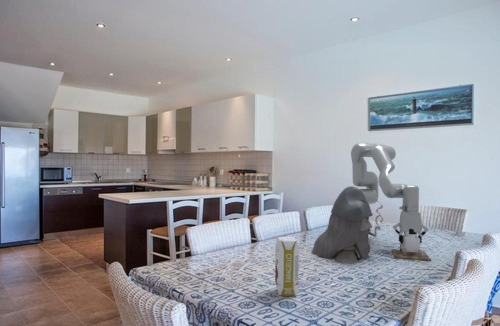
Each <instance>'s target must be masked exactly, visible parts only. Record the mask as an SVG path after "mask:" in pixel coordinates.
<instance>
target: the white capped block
mask: <svg viewBox="0 0 500 326" xmlns="http://www.w3.org/2000/svg"><path fill="white" fill-rule="evenodd" d="M400 244H401V249H402V250H403V248H405V249H406V252H418V250H421V243H420V238H418V233H417V232H414V229H409V231H408V232H403V234H402V243H400Z"/></svg>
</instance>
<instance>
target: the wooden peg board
mask: <svg viewBox="0 0 500 326" xmlns="http://www.w3.org/2000/svg"><path fill="white" fill-rule="evenodd" d="M391 253H392V254H393V257H394V258H395V259H398V260H399V259H401V260H411V261H412V260H413V261H421V262H424V261H425V262H432V258H431V257H430V256H429V255H428V254H427V252H425V251H423V250H422V249H420V250H418V252H406V249H405V248H403V250H402V249H401V243H399V249H397V248H391Z"/></svg>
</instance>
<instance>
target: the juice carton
mask: <svg viewBox="0 0 500 326" xmlns="http://www.w3.org/2000/svg"><path fill="white" fill-rule="evenodd" d="M298 243H299V242H298V240H296V238H295V237H294V236H277V237H276V242H275V262H274V263H275V264H274V265H275V269H274V270H275V271H274V273H275V274H274V276H275V278H274V280H275V281H274V282H275V283H274V284H275V286H276V287H275V288H276V290H277V294H278V296H279V295H282V296H281V297H295V296H297V295H298V290H299V270H300V268H299V266H300V265H299V262H300V261H299V259H300V258H299V257H300V252H299V251H300V247H299V244H298ZM284 295H285V296H284Z"/></svg>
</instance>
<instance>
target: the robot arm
mask: <svg viewBox="0 0 500 326" xmlns="http://www.w3.org/2000/svg"><path fill="white" fill-rule="evenodd" d="M396 155H397V154H396V150H395V148H393V146H391V145H387V144H381V143H370V142H359V143H356V144H354V145H353V146H352V148H351V151H350V158H351V164H352V166H351V167H352V168H351V169H352V172H351V173H352V183H353V186H354V187H357V188H359V187H361V188H359V189H360V190H361V191H362V192H363V194H364V196H365V198H366V200H367V201H368V203H369V205H373V204H376V203H377V201H376V199H377V198H378V199H379V188H380V189H381V192H382V194H384V196H385V197H386V198H388V199H402V206H399V207H398V208H399V210H401V212H400V216H399V222H397V223H396V224H394V225H393V226H392V228H393V230H394V231H395V233H396V234H397V235H398V242H399V244H401V243H402V235H403V234H404V232H408V231H409V229H414V232H417V237H418V238H420V244H422V242H423V241H422V240H423V236H424V235H426V234H427V233H428V231H429V228H428V227H426V226H425V225H423V224H422V223H423V222H422V221H423V220H422V216H421V215H422V213H421V212H420V210H419V209H420V207H419V206H420V203H419V202H420V201H419V200H420V189H419V188H420V187H419V186H418V185H414V184H405V183H392V182H391V180H390V179H389V174H391V173H392V172H394V170H395V168H396V166H395V164H394V162H393V160H394V159H395V158H396ZM365 158H372V160H373V161H374V163H375V165H376V168H377V169H378V171H379V175H377V174H376V173H375V172H374V171H369V170H368V165H367V162H366V159H365ZM364 187H365V188H364ZM397 228H399V230H398V229H397ZM370 242H371V238H369V243H370Z"/></svg>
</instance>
